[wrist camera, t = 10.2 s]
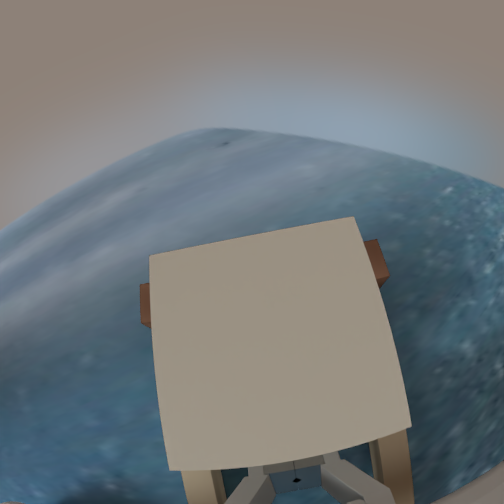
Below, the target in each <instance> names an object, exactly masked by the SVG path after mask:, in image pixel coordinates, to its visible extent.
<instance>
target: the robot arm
mask: <svg viewBox="0 0 504 504" xmlns="http://www.w3.org/2000/svg"><path fill="white" fill-rule="evenodd" d="M297 483H298V484H297ZM318 486H322V488H324V489H325V490H326V491H327V492H328V493H329V494H330V495H332V496H333V497H334V498H335V499H336V500H337V501H339V502H340V503H341V504H395V501H394V498H393V496H392V493H391V490H390V488H388V487H386V486H385V485H383V484H382V483H380V482H378V481H377V480H375V479H374V478H372V477H371V476H369V475H367V474H366V473H364V472H363V471H361V470H360V469H358V468H357V467H355V466H354V465H352V464H351V463H349V462H348V461H346V460H345V459H343V460H340V456H339V453H338V451H335V452H331V453H327V454H322V455H318V456H313V457H309V458H304V459H299V460H293V461H288V462H282V463H276V464H269V465H262V466H253V467H248V477H244V478H243V480H242V481H241V482H240V484H239V485H238V486H237V488H236V489H235V490H234V492H233V493H232V494H231V495H230V497H229V498H228V499H227V501H226V502H225V503H224V504H271V503H272V502H273V500H274V498H275V496H276V494H279V493H285V492H291V491H296V490H298V488H299V490H302V489H308V488H313V487H318ZM430 504H504V460H503V461H502V462H501V463H499V464H498V465H496V466H495V467H493V468H492V469H490V470H489V471H487V472H486V473H484V474H483V475H481V476H480V477H478V478H476V479H475V480H473V481H471V482H470V483H468V484H466V485H465V486H463V487H461V488H459V489H457V490H456V491H454V492H452V493H450V494H448V495H446V496H444V497H442V498H440V499H438V500H436V501H434V502H432V503H430Z"/></svg>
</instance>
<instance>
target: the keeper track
mask: <svg viewBox="0 0 504 504" xmlns="http://www.w3.org/2000/svg"><path fill="white" fill-rule="evenodd" d="M363 243H364V246H365V248H366V251H367V254H368V257H369V260H370V263H371V266H372V269H373V272H374V275H375V278H376V281H377V284H378V287H379V289H380V287H381V286H382V285H383V284H384V282H385V281H386V280H387V279H388V277H389V276H390V274H389V271H388V268H387V265H386V263H385V260H384V257H383V254H382V251H381V249H380V246H379V243H378V241H377V239H375V240H370V241H365V242H363ZM140 313H141V323H142V324H143V325H145V326H147V327H149V328H151V310H150V283H146V284H140ZM151 329H152V328H151ZM369 448H370V455H371V461H372V468H373V475H374V479H375V480H377V481H378V482H380V483H382V484H383V485H385V486H386V487H388V488H390V490H391V493H392V496H393V498H394V501H395V504H414V492H413V480H412V471H411V462H410V454H409V447H408V440H407V433H406V429H404V430H401V431H398V432H396V433H393V434H390V435H388V436H385V437H382V438H379V439H376V440H373V441H370V442H369ZM181 474H182V479H183V483H184V488H185V492H186V497H187V501H188V504H224V503H225V502H226V501H227V498H226V493H225V489H224V484H223V479H222V474H221V469H220V470H196V471H181Z"/></svg>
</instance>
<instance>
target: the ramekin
mask: <svg viewBox="0 0 504 504" xmlns="http://www.w3.org/2000/svg"><path fill="white" fill-rule="evenodd" d="M1 504H24V503H21V502H4V503H1Z"/></svg>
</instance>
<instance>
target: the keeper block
mask: <svg viewBox="0 0 504 504" xmlns="http://www.w3.org/2000/svg"><path fill="white" fill-rule="evenodd" d="M149 279H150V310H151V328H152V343H153V356H154V367H155V377H156V386H157V395H158V403H159V410H160V417H161V424H162V431H163V437H164V443H165V449H166V454H167V460H168V465H169V470H170V471H196V470H220V469H233V468H244V467H253V466H262V465H269V464H276V463H282V462H288V461H293V460H299V459H304V458H309V457H313V456H318V455H322V454H327V453H331V452H335V451H339V450H342V449H346V448H350V447H353V446H357V445H360V444H363V443H366V442H370V441H373V440H376V439H379V438H382V437H385V436H388V435H390V434H393V433H396V432H398V431H401V430H404V429H406V428H409V427H411V426H412V425H411V419H410V413H409V407H408V402H407V397H406V392H405V387H404V382H403V378H402V373H401V369H400V364H399V360H398V356H397V352H396V348H395V344H394V340H393V336H392V332H391V328H390V325H389V321H388V318H387V314H386V311H385V307H384V304H383V300H382V297H381V294H380V291H379V287H378V284H377V281H376V278H375V275H374V272H373V269H372V266H371V263H370V260H369V257H368V254H367V251H366V248H365V246H364V243H363V240H362V237H361V235H360V232H359V229H358V226H357V224H356V221H355V219H354V216H352V217H346V218H341V219H335V220H330V221H324V222H319V223H313V224H308V225H302V226H297V227H291V228H286V229H281V230H276V231H270V232H265V233H260V234H255V235H249V236H244V237H239V238H234V239H229V240H224V241H219V242H214V243H208V244H203V245H198V246H193V247H189V248H184V249H179V250H174V251H169V252H164V253H159V254H154V255H149Z"/></svg>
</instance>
